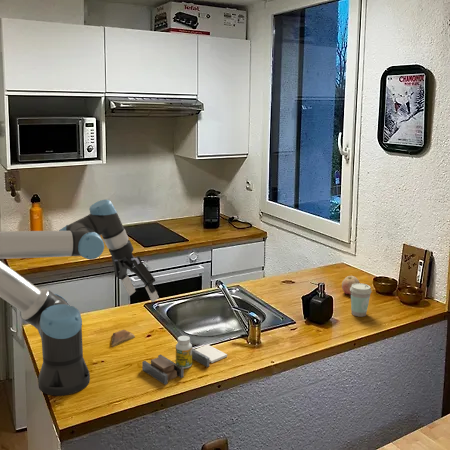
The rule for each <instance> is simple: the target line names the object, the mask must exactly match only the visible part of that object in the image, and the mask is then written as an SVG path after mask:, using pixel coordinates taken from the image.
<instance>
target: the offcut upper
mask: <svg viewBox="0 0 450 450" xmlns="http://www.w3.org/2000/svg"><path fill="white" fill-rule="evenodd" d="M162 356H163V355H162ZM162 356H161V357H155V358H153V359H150V364H151V365H153V366H154V367H156V368H157V369H159V370H161V371H162V372H164V373H168V372H170V371H173V370H174V364H173V363H171V362H169V361H168V360H166V359H165V358H163V357H162Z"/></svg>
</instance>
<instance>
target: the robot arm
mask: <svg viewBox="0 0 450 450" xmlns="http://www.w3.org/2000/svg"><path fill="white" fill-rule="evenodd" d="M88 210H89V213H88V215H85V216H83V217H82V218H80V219H78V220H75V221H74V222H71V223H70V224H66V225H65V226H64V227H61V228H60V229H59V230H26V231H25V230H23V231H22V230H21V231H20V230H19V231H18V230H17V231H16V230H15V231H14V230H13V231H11V230H10V231H5V230H4V231H3V230H2V231H0V298H1V299H2V300H4V301H5V302H7V303H8V304H10V305H11V306H13V308H15V309H17V310H18V311H20V315H21V319H23V320H24V321H26V323H28V324H30V325H31V326H32V327H34V328H35V329H36V330H37V331H38V334H39V337H40V339H41V350H42V365H41V367H40V372H39V375H38V377H37V378H38V379H37V383H38V389H39V390H40V391H41V392H42V393H43V394H46V395H48V396H49V395H50V396H56V397H58V396H59V397H60V396H68V395H71V394H72V395H73V394H75V393H79V392H81V391H82V390H84V389H85V388H86V387H87V386H88V385H89V384H90V381H91V377H90V375H91V374H90V369H89V368H88V366H87V364H86V361H85V358H84V354H83V353H84V352H83V351H84V349H83V331H82V329H83V327H82V325H83V320H82V319H83V318H82V316H81V311H80V310H79V309H78V308H77V307H75V306H73V305H71V304H69V303H68V301H67V300H66V299H65V298H64V297H63V296H61V295H59V294H58V293H54V292H52V291H51V290H49V289H48V288H47V287H43V288H39V287H37V286H36V285H34V284H33V283H32V282H31V281H29V280H28V279H26V278H25V277H23V276H22V275H21V274H19V273H18V272H17V271H15V270H14V269H12V268H11V266H8V265H7V264H5V263H4V262H3V261H1V260H5V259H31V258H32V259H33V258H35V259H37V258H62V257H82V258H85V259H86V260H95V259H98V258H99V257H101V255H102V254H103V252H104V250H105V245H106V248H107V249H108V251H109V253H110V256H111V260H112V264H113V269H114V275H115V278H119V280H121V282H122V285H123V287H124V289H125V290H126V293H127V295H128V296H132V295H133V294H134V293H135V292H136V289H135V287H134V285H133V283H132V281H131V279H130V277H129V274H128V271H130V272H131V273H134V275H136V276H137V277H138V279H139V280H140V281H141V282H142V283H143V284H144V288H145V290H146V292H147V294H148V296H149V299H150V300H151V302H152V303H154V302H156V301H157V300H158V299H159V298H160V297H159V295H158V291H157V289H156V288H155V286H154V284H153V283H155V282H156V279H155V277H154V276H153V275H152V273H151V272H150V270H149V269H148V268H147V267H146V265H145V264H144V263H143V261H142V260H141V258H140V256H136V257H135V256H134V255H133V252H134V246H133V244H132V242H131V240H130V238H129V236H128V234H127V231H126V229H125V228H124V225H123V223H122V220H121V218H120V216H119V215H118V211H117V210H116V208H115V206H114V204H113V202H112V201H111V200H110V199H102V200H98V201H96V202H95V203H93V204H91V205H90V206H89V209H88Z"/></svg>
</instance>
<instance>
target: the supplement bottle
mask: <svg viewBox="0 0 450 450" xmlns="http://www.w3.org/2000/svg"><path fill="white" fill-rule="evenodd" d="M192 348H193V345H192V343H191V337H190V336H189V335H180V336H178V337H177V343H176V344H175V363H176V364H177V365H179V366H181V367H182V368H184V370H185V369H189V368H190V367H192V365H193V359H192Z"/></svg>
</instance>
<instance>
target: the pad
mask: <svg viewBox="0 0 450 450" xmlns="http://www.w3.org/2000/svg"><path fill="white" fill-rule="evenodd" d="M194 350H196V351H198V352H200V353H202V354H204V355H205V356H207V357H209V358H210V359H209V363H211V364H213V363H215V362H219V361H221V360H222V359H224V358H226V357H227V358H228V354H227V353H225V352H224V351H222V350H219V349H218V348H216V347H214V346H211V345H209V344H205V345H203V346H201V347H198V348H196V349H194Z"/></svg>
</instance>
